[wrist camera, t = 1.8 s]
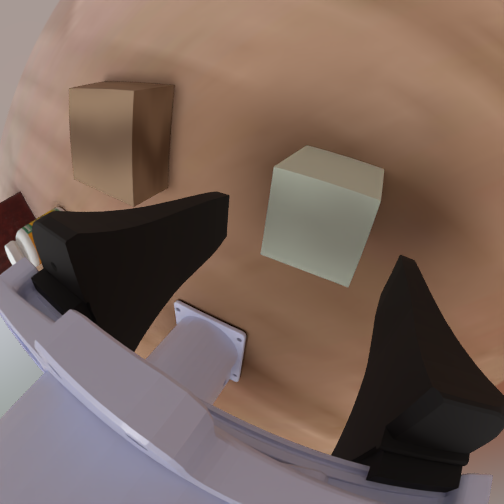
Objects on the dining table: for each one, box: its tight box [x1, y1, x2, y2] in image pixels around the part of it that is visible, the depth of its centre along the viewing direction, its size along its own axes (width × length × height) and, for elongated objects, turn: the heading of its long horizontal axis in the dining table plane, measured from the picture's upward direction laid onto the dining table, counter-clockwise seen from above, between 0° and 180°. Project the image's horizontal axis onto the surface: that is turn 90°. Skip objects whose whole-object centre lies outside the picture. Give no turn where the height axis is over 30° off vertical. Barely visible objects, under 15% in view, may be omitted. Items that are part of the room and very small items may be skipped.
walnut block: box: [69, 81, 175, 207], centre depth 19 cm, size 8×8×4 cm
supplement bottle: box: [5, 207, 64, 267], centre depth 29 cm, size 5×5×10 cm
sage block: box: [261, 145, 384, 287], centre depth 14 cm, size 4×4×5 cm
